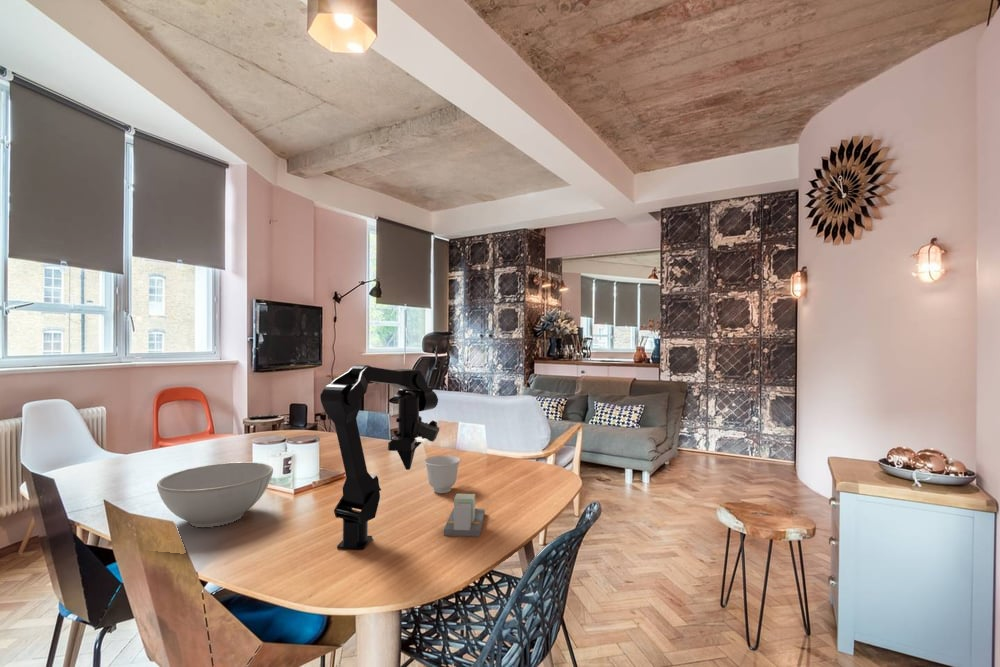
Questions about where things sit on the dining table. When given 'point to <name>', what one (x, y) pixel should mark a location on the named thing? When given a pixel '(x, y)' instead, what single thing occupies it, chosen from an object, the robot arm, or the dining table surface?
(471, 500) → the sleeve
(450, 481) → the teacup
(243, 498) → the decorative bowl
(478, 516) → the board
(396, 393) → the robot arm
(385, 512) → the dining table surface
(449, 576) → the dining table surface
